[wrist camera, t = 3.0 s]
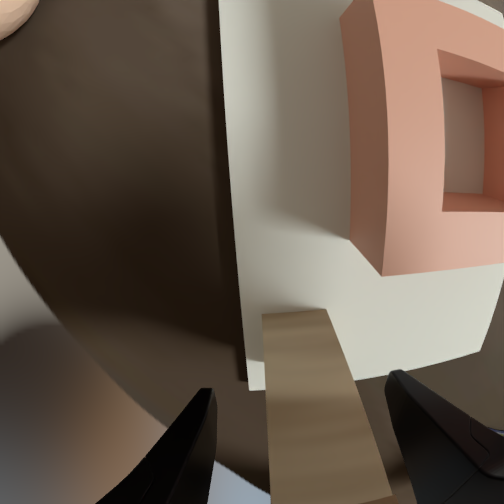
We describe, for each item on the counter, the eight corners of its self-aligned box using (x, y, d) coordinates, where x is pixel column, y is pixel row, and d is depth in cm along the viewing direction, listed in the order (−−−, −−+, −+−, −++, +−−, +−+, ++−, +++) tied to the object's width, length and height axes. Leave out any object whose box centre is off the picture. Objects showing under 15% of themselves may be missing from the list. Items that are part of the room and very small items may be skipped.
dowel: (323, 358, 12) (373, 558, 4) (263, 363, 12) (271, 574, 4) (327, 307, 11) (408, 538, 3) (260, 313, 11) (270, 565, 3)
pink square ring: (501, 232, 10) (544, 256, 7) (349, 240, 10) (381, 276, 8) (501, 61, 7) (546, 55, 5) (339, 18, 7) (368, -19, 5)
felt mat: (475, 346, 13) (479, 350, 13) (249, 383, 13) (249, 390, 13) (496, 15, 7) (501, 13, 6) (217, -37, 7) (216, -44, 7)
